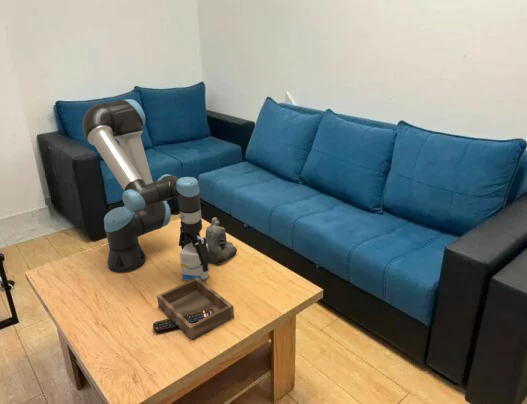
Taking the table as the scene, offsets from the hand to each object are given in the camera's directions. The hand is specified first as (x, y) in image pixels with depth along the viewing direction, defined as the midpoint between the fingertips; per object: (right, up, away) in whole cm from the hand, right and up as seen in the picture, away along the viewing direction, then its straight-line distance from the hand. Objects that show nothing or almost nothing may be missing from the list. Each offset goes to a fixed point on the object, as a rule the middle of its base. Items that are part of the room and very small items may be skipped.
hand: (196, 270), depth 164 cm
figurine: (+8, +3, +16) cm, 18 cm away
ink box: (0, -2, +1) cm, 2 cm away
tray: (+2, -12, -16) cm, 20 cm away
